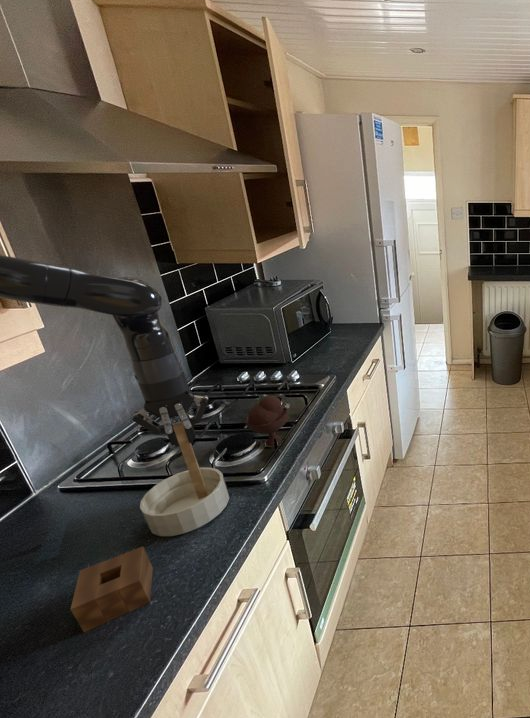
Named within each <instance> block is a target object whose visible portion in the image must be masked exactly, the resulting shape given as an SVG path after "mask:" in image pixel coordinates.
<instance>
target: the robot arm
mask: <svg viewBox="0 0 530 718" xmlns="http://www.w3.org/2000/svg"><path fill="white" fill-rule="evenodd" d="M0 299H6V300H10V301H16V302H21V303H29V304H36V305H43V306H44V305H45V306H52V307H53V306H54V307H61V308H72V309H73V308H74V309H79V310H80V309H81V310H85V311H86V310H87V311H91V312H95V313H99V314H105V315H111V316H112V317H113V319H114V321H115V323H116V325H117V327H118V328H119V330H120V332H121V334H122V338H123V340H124V344H125V348H126V350H127V352H128V355H129V358H130V361H131V365H132V372H133V374H134V378H135V380H136V381H137V384H138V387H139V389H140V393H141V394H142V398H143V400H144V404H143V408H141V409H139V410H137V411H134V412H133V414H132V421H133V422H134V423H136V424H138V425H139V426H141V427H142V428H144V429H146V430H147V431H149V432H150V433H152V434H154V435H158V436H159V435H161V434H166V435H167V438H168V441H169V444H170V445H171V446H172V447H173V446H174V447H175V448H178V447H180V445H179V442H178V440H177V437H176V434H175V432H174V429H173V421H172V419H173V418H175V417H178V418H179V419H180V422H181V421H182V422H183V425H184V427H185V432H186V435H187V438H188V441H189V443H191V444H192V443H194V440H196V437H197V436H196V431H195V428H194V426H195V425H198V424H200V423H201V422H202V420H203V417H204V414H205V412H206V409H207V406H208V405H209V395H207V394H203V395H196V394H195V393H194V392H193V391H192V390H191V388H190V386H189V383H188V380H187V378H186V377H187V376H186V375H185V371H184V368H183V365H182V362H181V359H180V357H179V355H178V353H177V350H176V348H175V346H174V342H173V339H172V336H171V334H170V331H169V329H168V328H167V327H166V325H165V324H164V323H163V322H162V320H161V318H160V315H159V311H160V309H161V308H162V305H163V297H162V294H161V293H160V291H159V290H158V289H157V288H156V287H154V286H153V285H152V284H149V283H148V282H146V281H144V280H141V279H140V278H137V277H131V276H122V277H118V278H117V277H110V276H104V275H98V274H96V273H95V274H94V273H91V272H88V271H86V270H83V269H79V268H75V267H70V266H64V265H58V264H54V263H48V262H44V261H43V262H42V261H37V260H32V259H25V258H20V257H14V256H8V255H2V254H0ZM194 402H195V406H196V410H195V412H194V414H193V416H192V417H191V416H190V414H189V409H190V408H191V406H192V404H193V403H194ZM150 414H151V415H153V416H155V417H157V418H159V419H161V421H162V424H161V423H159V422H158V421H155V420H154V419H153V418H152V417H150Z"/></svg>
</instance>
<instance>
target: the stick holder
mask: <svg viewBox="0 0 530 718" xmlns="http://www.w3.org/2000/svg"><path fill="white" fill-rule="evenodd" d="M153 572H154V566H153V565H152V562H151V561H150V558H149V556H148V553H147V552H146V549H145V547H144V546H143V545H142V546H140V547H137V548H135V549H132V550H130V551H127V552H124V553H123V554H122V553H121V554H119V555H117V556H114V557H111V558H109V559H106V560H104V561H100V562H98V563H96V564H93V565H91V566H89V567H85V568H83V569H80V570H79V573H78V577H77V580H76V581H77V582H76V585H75V590H74V593H73V597H72V602H71V605H70V611H71V613H72V615H73V616H74V618H75V619H76V621H77V623H78V625H79V627H80V629H81V630H82V631H83V633H86V632H89V631H91V630H94V629H95V628H97V627H100V626H102V625H104V624H106V623H108V622H111V621H113V620H116V619H117V618H120V617H122V616H124V615H127V614H128V613H131V612H133V611H135V610H137V609H140V608H142V607H144V606H146V605H148V604H151V599H152V585H153V584H152V583H153Z"/></svg>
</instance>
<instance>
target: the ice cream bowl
mask: <svg viewBox="0 0 530 718" xmlns="http://www.w3.org/2000/svg"><path fill="white" fill-rule="evenodd" d="M288 418H289V407H287V406H284V405H283V404H282V401H281V399H280V398H279V397H277V396H275V395H267V396H264V397H262V398H261V399H260V400H259V402H258V403H256V404H254V406H251V408H250V409H249V410H248V414H247V415H246V416H245V420H244V424H245V425H246V428H248V429H249V430H250V431H253V432H254V433H256V434H260V435H268V438H269V439H268V438H267V439H268V440H267V439H266V440H267V441H266V444H267V445H268V446H274V443H275V442H274V439H276V440H277V441H279V440H281V435H276V432H278V431H279V430H280V429H281V428H282V427H284V425H285V424H286V423H287V422H288Z"/></svg>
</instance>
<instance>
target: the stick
mask: <svg viewBox="0 0 530 718" xmlns="http://www.w3.org/2000/svg"><path fill="white" fill-rule="evenodd" d="M172 424H173V429H174V432H175V434H176V437H177V440H178V442H179V445H180V446H179V449H180V451H181V454H182V457H183V460H184V462H185V466H186V468H187V470H188V471H189V474H190V477H191V479H192V482H193V485H194V488H195V491H196V493H197V496H198V499H201V498H204V497H207V496H208V491H207V489H206V486H205V483H204V480H203V477H202V474H201V471H200V468H201V467H200V465H199V463H198V459H197V457H196V454H195V451H194V448H193V445H192V443H189V441H188V438H187V435H186V432H185V427H184V425H183V422H182V421H181V420H180V421H178V422H172Z"/></svg>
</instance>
